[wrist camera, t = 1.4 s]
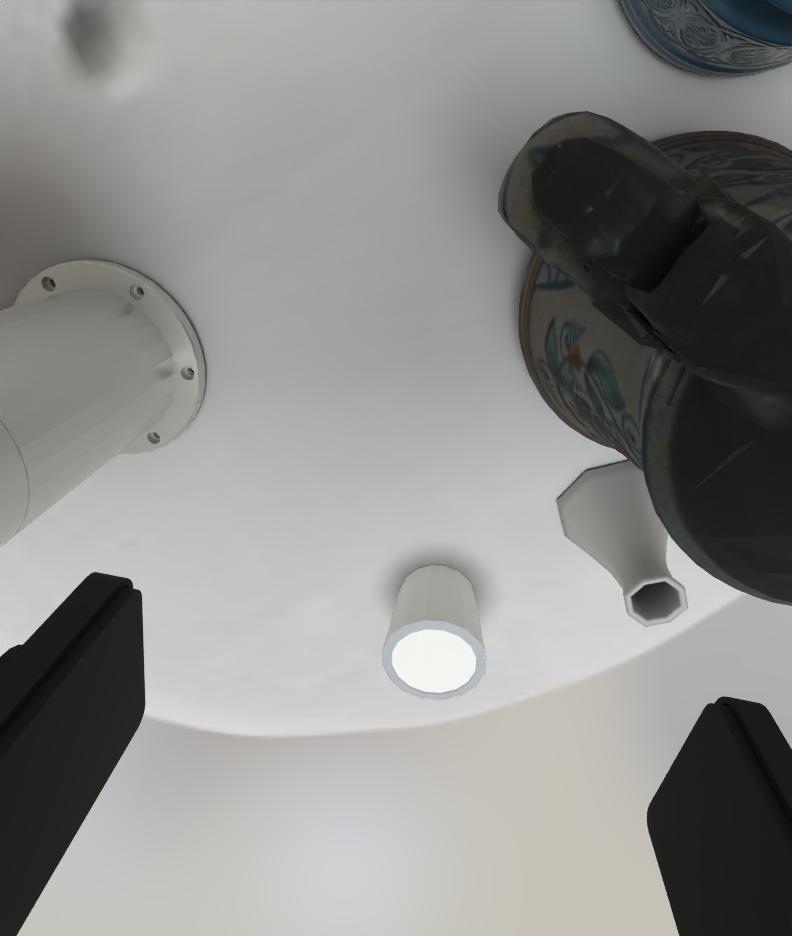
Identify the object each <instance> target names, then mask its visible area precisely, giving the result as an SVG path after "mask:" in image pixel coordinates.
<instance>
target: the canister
mask: <svg viewBox="0 0 792 936" xmlns="http://www.w3.org/2000/svg"><path fill="white" fill-rule="evenodd" d="M619 1H620V3H621V6H622V8H623V11H624V13H625V15H626V17H627V19H628V21H629V22H630V24H631V26H632V27H633V29H634V30H635V32H636V33H637V34H638V36H639V37H640V38H641V39H642V40H643V41H644V43H645V44H646V45H647V46H648V47H649V48H650V49H652V50H653V51H654V52H655V53H656V54H658V55H659V56H660V57H662V58H663V59H665V60H666V61H668V62H670V63H672V64H674V65H676V66H678V67H680V68H683V69H686V70H689V71H693V72H696V73H700V74H704V75H710V76H717V77H739V76H747V75H754V74H758V73H763V72H766V71H769V70H773V69H776V68H779V67H782V66H785V65H788V64H790V63H792V0H619Z"/></svg>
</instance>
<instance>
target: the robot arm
mask: <svg viewBox="0 0 792 936" xmlns="http://www.w3.org/2000/svg"><path fill="white" fill-rule="evenodd" d="M140 287H141V288H142V289H143V292H144V294H143V293H142V292H141V290H140ZM190 368H191V369H192V370H193V371H194V373H193V372H191V370H190ZM204 389H205V364H204V359H203V354H202V349H201V346H200V344H199V341H198V339H197V336H196V334H195V331H194V329H193V327H192V326H191V324H190V322H189V321H188V319H187V318H186V316H185V314H184V313H183V311H182V310H181V309H180V308H179V307H178V305H177V304H176V303H175V302H174V301H173V299H172V298H171V297H170V296H169V295H168V294H167V293H166V292H164V291H163V290H162V289H161V288H160V287H159V286H157V285H156V284H155V283H154V282H152V281H151V280H149V279H148V278H146V277H144V276H143V275H141V274H139V273H138V272H136V271H134V270H131V269H129V268H126V267H124V266H121V265H119V264H116V263H111V262H106V261H101V260H76V261H71V262H65V263H60V264H58V265H55V266H52V267H50V268H47V269H44V270H43V271H42V272H40V273H39V274H37V275H36V276H34V277H33V278H31V279H30V280H29V282H28V283H27V284H26V285H25V286H24V287H23V289H22V290H21V291H20V292H19V294H18V296H17V298H16V300H15V302H14V304H13V306H12V307H10V308H6V309H2V310H0V547H1V546H2V545H3V544H5V543H6V542H8V541H9V540H10V539H11V538H13V537H14V536H15V535H16V534H18V533H19V532H20V531H21V530H23V529H24V528H25V527H26V526H28V525H29V524H30V523H31V522H33V521H34V520H35V519H36V518H38V517H39V516H40V515H41V514H43V513H44V512H45V511H46V510H48V509H49V508H50V507H51V506H53V505H54V504H55V503H56V502H58V501H59V500H60V499H61V498H63V497H64V496H65V495H66V494H68V493H69V492H70V491H71V490H73V489H74V488H75V487H76V486H78V485H79V484H80V483H81V482H83V481H84V480H85V479H86V478H88V477H89V476H90V475H91V474H93V473H94V472H95V471H96V470H98V469H99V468H100V467H101V466H103V465H104V464H105V463H106V462H108V461H109V460H110V459H111V458H113V457H114V456H115V455H116V454H137V453H143V452H149V451H152V450H155V449H157V448H160V447H162V446H165V445H166V444H168V443H169V442H170V441H172V440H173V439H175V438H176V437H178V436H179V435H180V434H181V433H182V432H183V431H184V430H185V429H186V428H187V427H188V426H189V424H190V423H191V422H192V420H193V419H194V417H195V416H196V415H197V412H198V410H199V407H200V405H201V403H202V400H203V395H204ZM144 710H145V681H144V648H143V616H142V594H141V592H140V590H136V589H133V583H132V581H131V580H130V579H128V578H123V577H118V576H113V575H108V574H103V573H98V572H94V573H91V574H90V575H89V576H87V577H86V578H85V579H84V580H83V581H82V583H81V584H80V585H79V586H78V587H77V588H76V589H75V590H74V591H73V592H72V593H71V594H70V595H69V596H68V597H67V598H66V600H65V601H64V602H63V603H62V604H61V605H60V606H59V607H58V608H57V609H56V610H55V611H54V612H53V613H52V614H51V616H50V617H49V618H48V619H47V620H46V621H45V622H44V623H43V624H42V625H41V626H40V627H39V628H38V629H37V630H36V631H35V633H34V634H33V635H32V636H31V637H30V638H29V639H28V640H27V641H26V642H25V643H24V644H23V645H17V646H15V647H12V648H10V649H9V650H8V651H7V652H5V653H4V654H3V655H2V656H1V657H0V936H17V934H18V932H19V930H20V929H21V927H22V925H23V924H24V922H25V920H26V918H27V917H28V915H29V913H30V912H31V910H32V908H33V907H34V905H35V903H36V901H37V900H38V898H39V896H40V895H41V893H42V891H43V889H44V888H45V886H46V884H47V883H48V881H49V879H50V877H51V876H52V874H53V872H54V871H55V869H56V867H57V866H58V864H59V862H60V860H61V859H62V857H63V855H64V854H65V852H66V850H67V848H68V847H69V845H70V843H71V842H72V840H73V838H74V836H75V835H76V833H77V831H78V830H79V828H80V826H81V824H82V823H83V821H84V819H85V818H86V816H87V814H88V813H89V811H90V809H91V807H92V806H93V804H94V802H95V801H96V799H97V797H98V795H99V794H100V792H101V790H102V789H103V787H104V785H105V784H106V782H107V780H108V778H109V777H110V775H111V773H112V771H113V770H114V768H115V766H116V765H117V763H118V761H119V760H120V758H121V756H122V754H123V753H124V751H125V749H126V747H127V746H128V744H129V742H130V741H131V739H132V737H133V736H134V734H135V732H136V730H137V729H138V727H139V724H140V722H141V720H142V717H143V714H144ZM647 826H648V830H649V834H650V837H651V841H652V845H653V848H654V851H655V855H656V858H657V861H658V865H659V868H660V871H661V875H662V878H663V882H664V885H665V889H666V892H667V896H668V899H669V902H670V906H671V909H672V912H673V916H674V919H675V922H676V926H677V930H678V933H679V936H792V749H791V748H790V746H789V744H788V743H787V741H786V739H785V737H784V736H783V734H782V732H781V731H780V729H779V727H778V725H777V724H776V722H775V720H774V719H773V717H772V715H771V714H770V712H769V711H768V710H767V708H766V707H765V706H763V705H762V704H760V703H756V702H751V701H746V700H740V699H736V698H731V697H721V698H719V699H718V700H717V701H716V702H715V703H714V704H712V703H710V704H708V705H707V706H706V707H705V708H704V710H703V711H702V713H701V715H700V717H699V718H698V720H697V722H696V724H695V725H694V727H693V729H692V731H691V732H690V734H689V736H688V738H687V739H686V741H685V743H684V745H683V746H682V748H681V750H680V752H679V754H678V755H677V757H676V759H675V760H674V762H673V764H672V766H671V768H670V770H669V771H668V773H667V775H666V777H665V778H664V780H663V782H662V783H661V785H660V787H659V789H658V791H657V792H656V794H655V796H654V797H653V799H652V801H651V803H650V805H649V807H648V811H647Z"/></svg>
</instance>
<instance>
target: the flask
mask: <svg viewBox="0 0 792 936" xmlns="http://www.w3.org/2000/svg"><path fill="white" fill-rule="evenodd" d="M557 505H558V509H559V513H560V518H561V522H562V526H563V530H564V534H565V536H566V537H567V538H568V539H569V540H571V541H572V542H573V543H574V544H576V545H577V546H578V547H580V548H581V549H582V550H584V551H585V552H586V553H588V554H589V555H590V556H591V557H593V558H594V559H595V560H596V561H597V562H598V563H600V564H601V565H602V566H603V567H604V568H606V569H607V570H608V571H609V572H610V573H611V574H612V575H613V576H614V578H615V579H616V580H617V582H618V583H619V584H620V586H621V587H622V588H623V590H624V591H623V595H624V600H625V605H626V610H627V613H628V615H629V616H631V617H632V618H634V619H635V620H636V621H638V622H639V623H641V624H642V625H644V626H645V627H646V626H652V625H658V624H663V623H669V622H671V621H672V620H673V619H675V618H676V617H677V616H678V615H680V614H681V613H682V612H683V611H685V610H686V609H687V608H688V605H687V598H686V591H685V588H684V586H683V585H682V584H681V583H679V582H678V581H676V580H675V579H674V578H672V576H671V574H670V572H669V570H668V568H667V564H666V544H667V536H668V532H667V530H666V529H665V527H664V525H663V524H662V522H661V521H660V519H659V518H658V516H657V514H656V513H655V510H654V507H653V504H652V501H651V498H650V495H649V492H648V489H647V486H646V483H645V478H644V472H643V471H642V470H640V469H639V468H637V467H636V466H635V465H634V464H633V463H632V462H631V461H627V462H622V463H618V464H614V465H610V466H605V467H601V468H597V469H593V470H588V471H586V472H585V473H584V474H583V475H582V476H581V477H580V478H579V479H578V480H577V481H576V482H575V483H574V484H573V485H572V486H571V487H570V488H569V489H568V490H567V491H566V492H565V493H564V494H563V495H562V496H561V497H560V498H559V499H558V500H557Z"/></svg>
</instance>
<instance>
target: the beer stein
mask: <svg viewBox="0 0 792 936" xmlns="http://www.w3.org/2000/svg"><path fill="white" fill-rule="evenodd" d="M498 211H499V213H500V215H501V217H502V218H503V220H504V221H505V222H506V223H507V224H508V225H509V226H510V228H511V229H512V230H514V232H515V234H516V235H517V236H518V237H519V238H520V239H521V240H522V241H523V242H524V243H525V244H526V245H527V246H528V247H529V248H530V249H531V250H532V251H533V252H534V253H533V255H532V258H531V260H530V263H529V266H528V269H527V272H526V275H525V279H524V282H523V286H522V291H521V297H520V304H519V322H518V323H519V338H520V344H521V349H522V353H523V357H524V360H525V363H526V366H527V369H528V372H529V374H530V376H531V378H532V380H533V382H534V384H535V386H536V388H537V389H538V391H539V393H540V395H541V397H542V398H543V399H544V400H545V402H546V403H547V404H548V406H549V407H550V408H551V409H552V410H553V411H554V412H555V414H556V415H557V416H558V417H559V418H560V419H561V420H562V421H564V422H565V423H566V424H567V425H568V426H570V427H571V428H572V429H574V430H575V431H577V432H579V433H580V434H582V435H583V436H585V437H586V438H588V439H590V440H592V441H594V442H597V443H599V444H601V445H604V446H607V447H610V448H613V449H616V450H617V451H618V452H620V453H622V454H623V455H624V456H625V457H626V458H627V459H629V460H630V461H631V462H632V463H633V464H634V465H635V466H636V467H637V468H639V469H640V470H642V471H643V472H644V478H645V483H646V486H647V489H648V492H649V495H650V498H651V501H652V504H653V507H654V510H655V513H656V514H657V516H658V518H659V519H660V521H661V522H662V524H663V525H664V527H665V529H666V530H667V532H668V533H669V535H670V536H671V538H672V539H673V540H674V541H675V543H676V544H677V545H678V546H679V547H680V548H681V549H682V550H683V551H684V552H685V553H686V554H687V555H688V556H689V557H690V558H691V559H692V560H693V561H694V562H695V563H696V564H697V565H698V566H700V567H701V568H702V569H704V570H705V571H706V572H708V573H709V574H711V575H712V576H713V577H715V578H717V579H719V580H720V581H722V582H724V583H726V584H728V585H729V586H731V587H733V588H735V589H737V590H740V591H742V592H745V593H747V594H750V595H752V596H755V597H758V598H761V599H764V600H767V601H770V602H774V603H779V604H785V605H790V606H792V151H791V150H790V149H788V148H786V147H784V146H782V145H780V144H778V143H776V142H773V141H770V140H767V139H764V138H761V137H758V136H754V135H749V134H744V133H739V132H728V131H703V132H692V133H685V134H679V135H675V136H671V137H668V138H664V139H661V140H657V141H655V142H652V143H650V142H648V141H647V140H645V139H644V138H642V137H641V136H639V135H637V134H636V133H634V132H632V131H631V130H629V129H628V128H626V127H624V126H623V125H621V124H619V123H617V122H615V121H613V120H611V119H610V118H608V117H605V116H601V115H598V114H595V113H591V112H588V111H585V112H574V113H566V114H563V115H560V116H557V117H555V118H552V119H551V120H549V121H548V122H547V123H546V124H545V125H543V126H542V127H541V128H540V129H538V130H537V131H536V132H535V133H534V134H533V135H532V136H531V138H530V139H529V140H528V142H527V143H526V144H525V146H524V147H523V148H522V149H521V151H520V152H519V153H518V155H517V156H516V158H515V159H514V161H513V163H512V164H511V166H510V168H509V169H508V171H507V173H506V175H505V178H504V180H503V183H502V186H501V189H500V192H499V199H498Z"/></svg>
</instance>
